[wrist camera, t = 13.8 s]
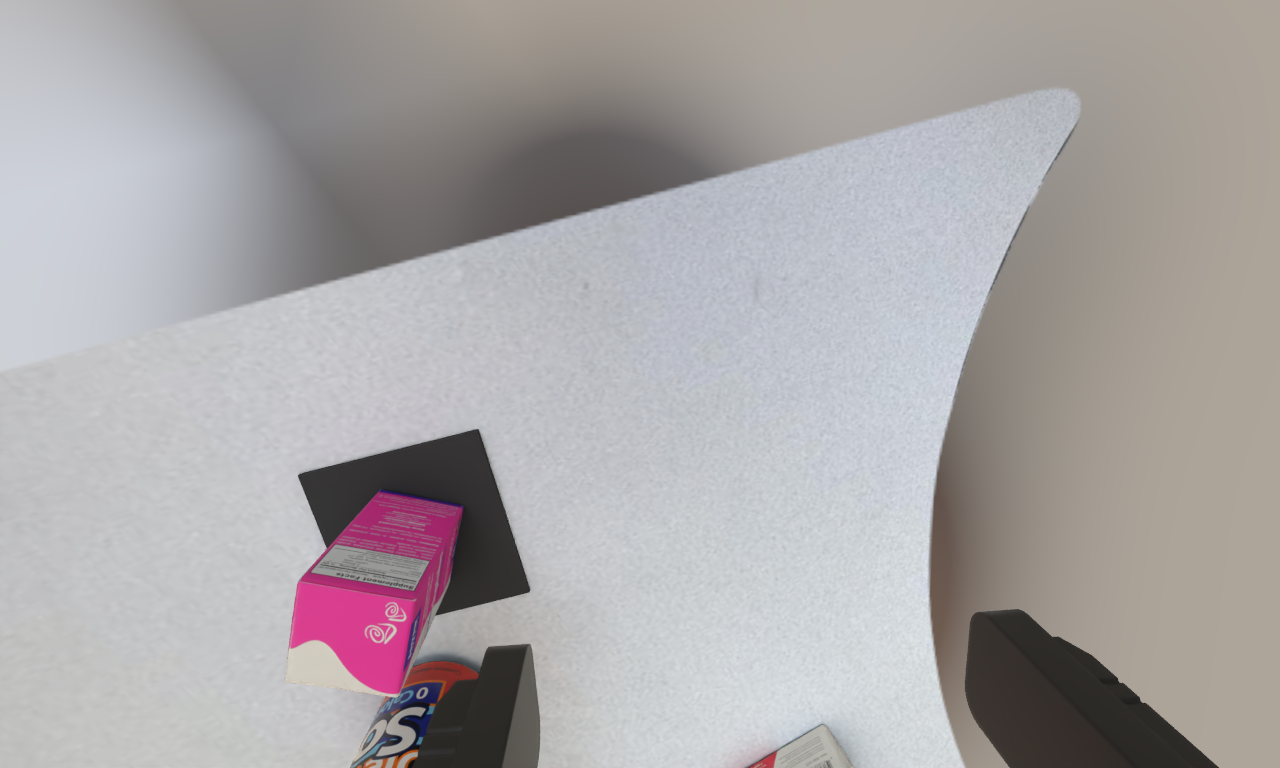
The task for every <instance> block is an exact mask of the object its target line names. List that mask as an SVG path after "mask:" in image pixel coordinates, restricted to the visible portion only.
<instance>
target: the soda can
mask: <svg viewBox="0 0 1280 768" xmlns="http://www.w3.org/2000/svg"><path fill="white" fill-rule="evenodd" d="M478 676H479V674H478V673H477V672H475V671H474V670H472V669H471V668H469V667H466V666H464V665H461V664H458V663H454V662H448V661H433V662H427V663H423V664H420V665H417V666H415V667H412V668H411V670H410V672H409V675H408V677H407V679H406V681H405V684H404V686H403V688H402V690H401V692H400V695H399V696H398V697H388V696H385V698H384V700H383V702H382V704H381V706H380V708H379V710H378V712H377V714H376V716H375V718H374V720H373V722H372V724H371V726H370V728H369V730H368V732H367V734H366V736H365V738H364V740H363V742H362V744H361V746H360V748H359V750H358V752H357V754H356V756H355V758H354V760H353V762H352V764H351V766H350V768H412V766H413V764H414V761H415V758H417V757H418V750H419V748H420V745H421V742H422V740H423V737H424V735H426V729H427V727H428V724H429V721H430V719H431V716H432V713H433V711H434V708H435V705H436V703H437V702H438V701H439V700H440V699H441V698H442V696H443V695H444V694H445V693H446V692H447V691H448V690H449V688H450V687H451V686H452V685H453V684H454V683H455V682H456V681H457V680H468V679H478Z"/></svg>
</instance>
